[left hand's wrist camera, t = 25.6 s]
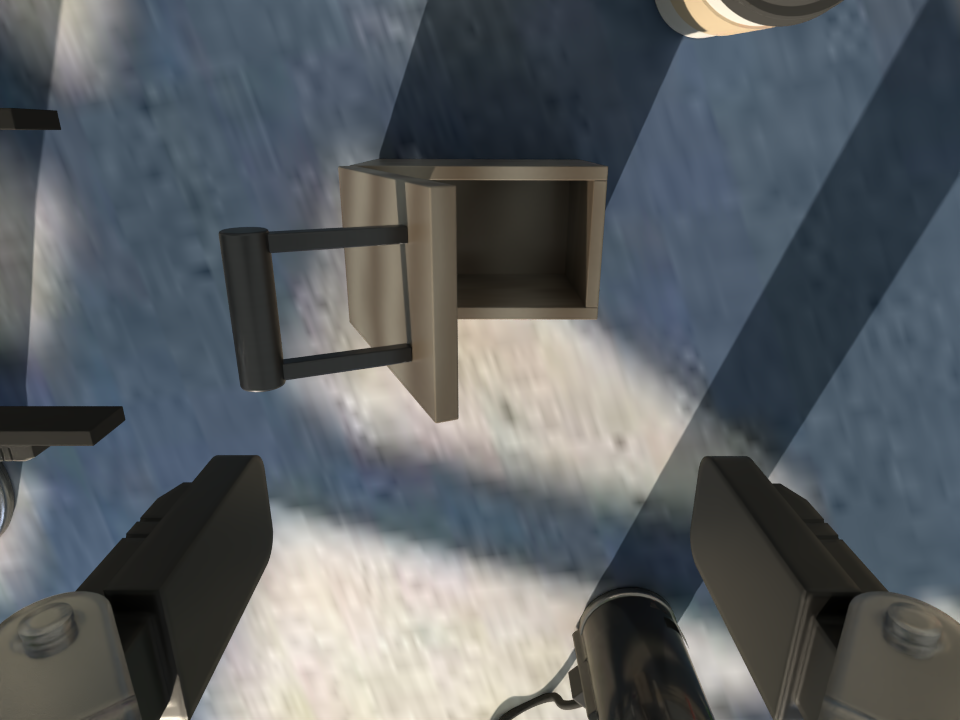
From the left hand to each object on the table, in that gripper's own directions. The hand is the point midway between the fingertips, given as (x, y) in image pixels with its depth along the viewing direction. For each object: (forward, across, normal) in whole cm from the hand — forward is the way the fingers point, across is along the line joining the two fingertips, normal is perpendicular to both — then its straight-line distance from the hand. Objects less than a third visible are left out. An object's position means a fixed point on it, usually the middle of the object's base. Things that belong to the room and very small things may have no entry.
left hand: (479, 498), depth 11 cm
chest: (+38, 0, 0) cm, 38 cm away
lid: (+20, +4, 0) cm, 21 cm away
